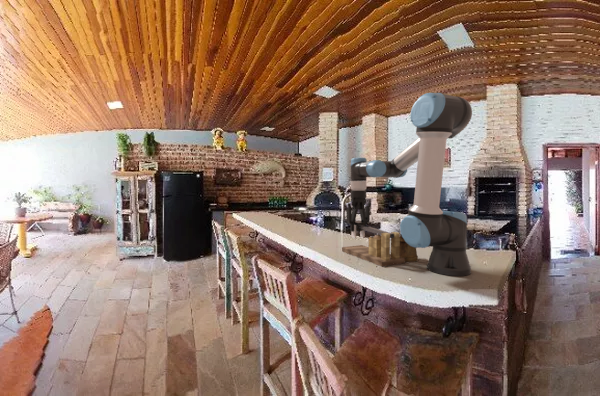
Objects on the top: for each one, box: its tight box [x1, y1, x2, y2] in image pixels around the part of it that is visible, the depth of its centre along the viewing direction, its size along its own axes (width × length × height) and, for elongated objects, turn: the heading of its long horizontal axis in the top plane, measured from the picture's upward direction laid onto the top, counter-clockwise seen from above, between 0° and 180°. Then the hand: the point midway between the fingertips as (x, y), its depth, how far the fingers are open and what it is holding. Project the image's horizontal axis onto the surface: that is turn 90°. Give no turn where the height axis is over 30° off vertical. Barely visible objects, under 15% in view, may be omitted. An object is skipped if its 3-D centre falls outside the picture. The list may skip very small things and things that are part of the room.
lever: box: [354, 220, 394, 239], centre depth 137 cm, size 26×4×4 cm, turn 24°
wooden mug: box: [399, 233, 419, 263], centre depth 134 cm, size 9×14×18 cm, turn 129°
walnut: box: [373, 234, 381, 239], centre depth 133 cm, size 4×4×4 cm
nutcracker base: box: [341, 231, 406, 267], centre depth 138 cm, size 30×12×13 cm, turn 24°
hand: (358, 237), depth 147 cm, fingers closed on lever, 4 cm apart
